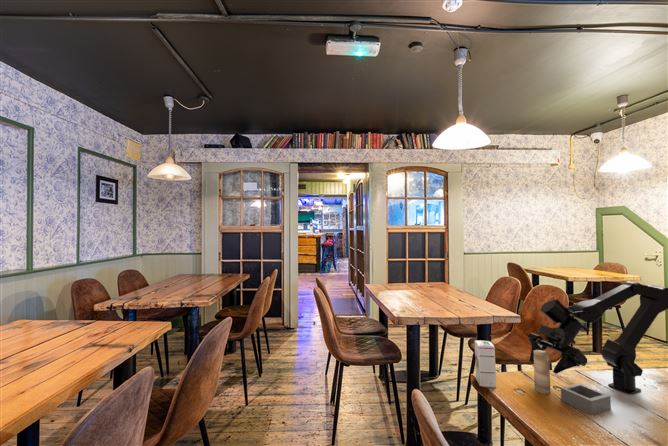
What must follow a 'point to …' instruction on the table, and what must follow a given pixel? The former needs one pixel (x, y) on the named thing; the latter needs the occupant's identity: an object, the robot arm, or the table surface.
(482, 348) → the syrup box
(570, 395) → the square sleeve socket
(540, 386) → the wooden peg
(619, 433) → the table surface
